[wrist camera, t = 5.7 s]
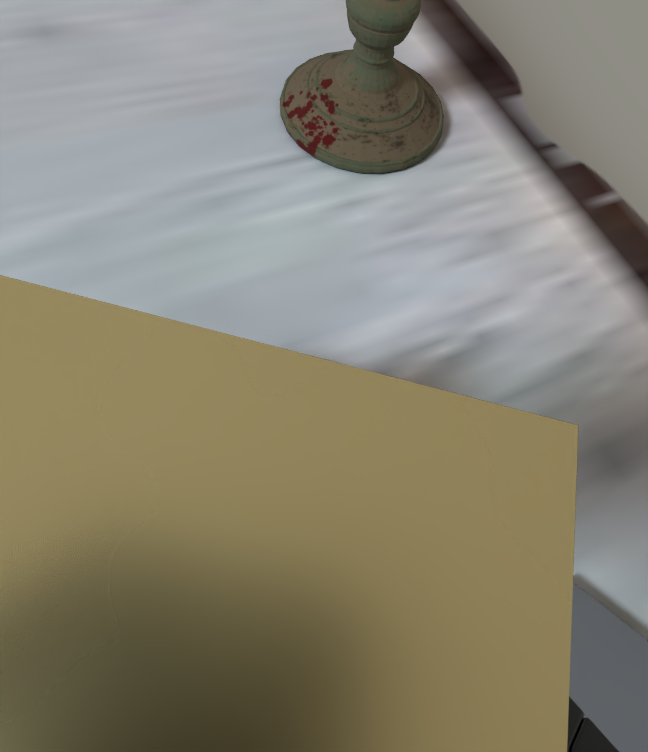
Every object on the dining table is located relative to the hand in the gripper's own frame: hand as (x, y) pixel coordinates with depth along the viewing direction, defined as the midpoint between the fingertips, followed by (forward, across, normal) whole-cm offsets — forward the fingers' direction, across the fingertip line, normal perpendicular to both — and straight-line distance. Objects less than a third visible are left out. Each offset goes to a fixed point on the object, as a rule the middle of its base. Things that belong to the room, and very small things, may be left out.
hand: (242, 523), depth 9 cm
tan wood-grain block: (+2, 0, +4) cm, 5 cm away
